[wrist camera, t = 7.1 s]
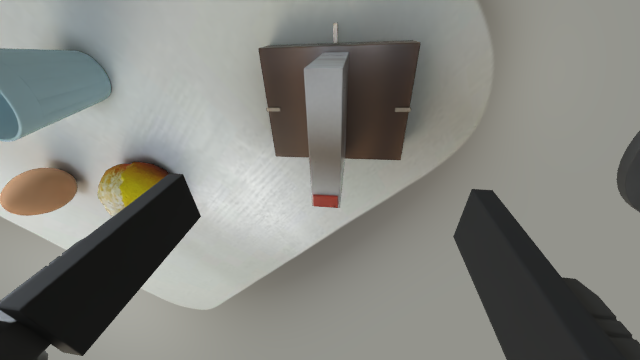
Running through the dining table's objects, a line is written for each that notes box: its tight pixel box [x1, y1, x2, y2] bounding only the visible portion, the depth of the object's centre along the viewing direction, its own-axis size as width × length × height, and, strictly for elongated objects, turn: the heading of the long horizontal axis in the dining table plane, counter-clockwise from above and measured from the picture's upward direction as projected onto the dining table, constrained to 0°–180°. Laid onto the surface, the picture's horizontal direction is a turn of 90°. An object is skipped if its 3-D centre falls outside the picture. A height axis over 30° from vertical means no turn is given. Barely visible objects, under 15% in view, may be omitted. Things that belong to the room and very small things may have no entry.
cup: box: [0, 49, 111, 142], centre depth 24 cm, size 8×8×10 cm
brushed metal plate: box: [304, 52, 349, 208], centre depth 19 cm, size 10×2×9 cm, turn 2°
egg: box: [0, 168, 77, 215], centre depth 35 cm, size 6×6×8 cm
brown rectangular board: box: [259, 23, 420, 160], centre depth 24 cm, size 14×14×3 cm
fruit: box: [98, 162, 170, 216], centre depth 34 cm, size 11×10×8 cm
